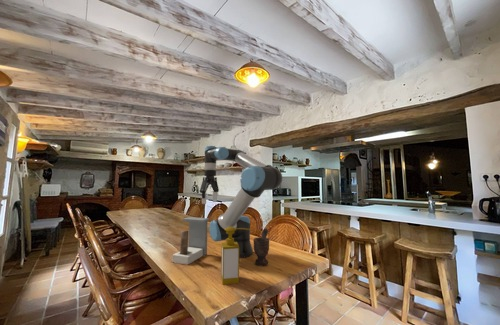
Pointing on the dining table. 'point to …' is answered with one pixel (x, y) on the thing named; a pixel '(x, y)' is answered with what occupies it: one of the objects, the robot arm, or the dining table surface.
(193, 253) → the stand
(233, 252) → the soap bottle
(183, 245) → the walnut dowel
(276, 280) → the dining table surface
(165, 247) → the dining table surface
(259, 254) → the mortar and pestle
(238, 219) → the robot arm
